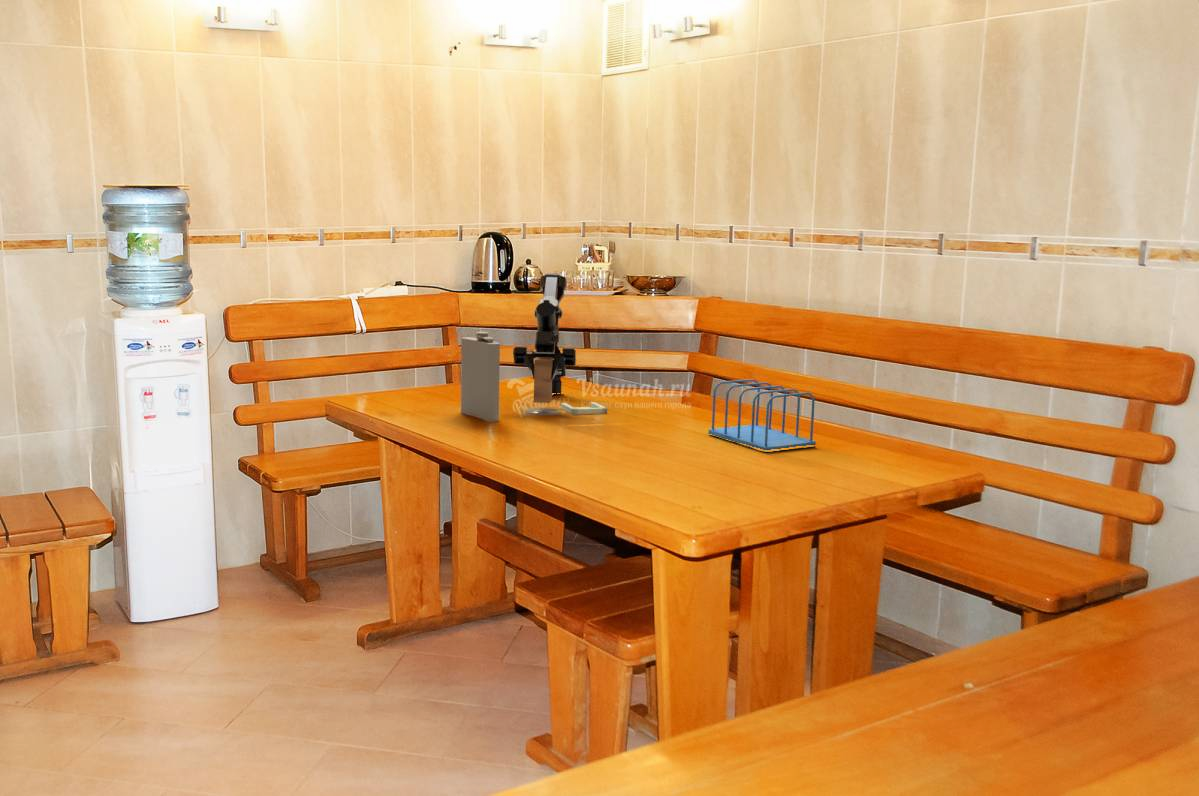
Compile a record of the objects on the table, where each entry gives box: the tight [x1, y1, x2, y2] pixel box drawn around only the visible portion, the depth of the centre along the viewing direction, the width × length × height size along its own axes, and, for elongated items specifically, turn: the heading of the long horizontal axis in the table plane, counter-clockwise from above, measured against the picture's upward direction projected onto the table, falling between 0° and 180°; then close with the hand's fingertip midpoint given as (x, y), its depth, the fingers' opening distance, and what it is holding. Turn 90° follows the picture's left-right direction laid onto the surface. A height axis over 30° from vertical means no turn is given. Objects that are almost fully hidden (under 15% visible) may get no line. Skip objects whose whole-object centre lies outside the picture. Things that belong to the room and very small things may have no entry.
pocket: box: [560, 401, 608, 416], centre depth 337 cm, size 11×11×2 cm
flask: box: [460, 331, 501, 423], centre depth 324 cm, size 17×5×25 cm, turn 37°
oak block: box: [533, 357, 553, 404], centre depth 332 cm, size 5×5×13 cm
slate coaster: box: [523, 407, 562, 416], centre depth 333 cm, size 11×11×1 cm
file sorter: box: [707, 378, 817, 450], centre depth 300 cm, size 25×17×15 cm
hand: (542, 378), depth 330 cm, fingers closed on oak block, 5 cm apart
